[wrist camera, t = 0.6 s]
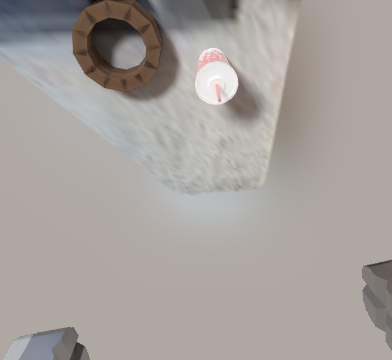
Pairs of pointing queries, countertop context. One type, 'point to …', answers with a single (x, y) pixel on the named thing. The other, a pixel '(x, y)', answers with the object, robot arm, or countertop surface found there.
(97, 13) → the walnut ring
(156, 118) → the countertop surface
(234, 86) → the beverage cup
